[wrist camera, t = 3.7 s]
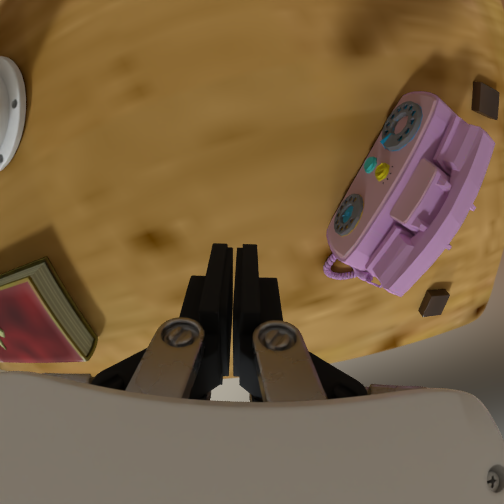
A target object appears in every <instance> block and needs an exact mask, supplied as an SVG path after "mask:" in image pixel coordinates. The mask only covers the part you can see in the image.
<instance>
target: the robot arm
mask: <svg viewBox="0 0 504 504" xmlns="http://www.w3.org/2000/svg"><path fill="white" fill-rule="evenodd" d="M25 114H26V93H25V85H24V81H23V77H22V74H21V72H20V70H19V68H18V66H17V65H16V64H15V63H14V61H12V60H11V59H9V58H8V57H4V56H0V171H1V170H3V169H4V168H5V167H6V166H7V165H8V164H9V162H10V161H11V159H12V158H13V156H14V154H15V152H16V150H17V148H18V145H19V142H20V139H21V136H22V132H23V128H24V123H25ZM232 312H233V375H234V376H239V377H240V386H241V387H243V388H244V389H245V390H246V391H248V392H249V393H250V402H230V401H210V398H211V390H212V389H214V388H215V387H217V386H218V385H220V384H221V385H222V380H223V376H229V362H230V344H231V328H232ZM0 504H504V440H503V438H502V436H501V433H500V431H499V429H498V427H497V425H496V423H495V422H494V420H493V418H492V416H491V415H490V413H489V411H488V410H487V409H486V407H485V406H484V405H483V403H482V402H481V401H480V400H479V399H478V398H477V397H475V396H473V395H472V394H469V393H466V392H463V391H459V390H452V389H445V388H426V387H421V386H420V387H419V386H394V385H377V384H371V385H370V387H364V386H363V385H362V384H361V383H360V382H359V381H357V380H356V379H354V378H352V377H350V376H349V375H347V374H345V373H344V372H342V371H340V370H339V369H337V368H335V367H334V366H332V365H330V364H329V363H327V362H325V361H324V360H322V359H320V358H319V357H317V356H315V355H314V354H312V353H311V352H309V351H308V349H307V347H306V345H305V342H304V340H303V337H302V335H301V333H300V331H299V330H298V329H297V328H296V327H295V326H294V325H292V324H290V323H288V322H284V321H283V317H282V310H281V303H280V296H279V289H278V282H277V278H259V273H258V255H257V245H255V244H243V248H237V257H236V272H235V287H234V302H233V248H229V247H228V246H227V244H216V243H213V246H212V250H211V255H210V259H209V264H208V268H207V273H206V276H191V278H190V281H189V285H188V288H187V291H186V295H185V299H184V302H183V306H182V309H181V313H180V317H179V318H173V319H170V320H168V321H166V322H164V323H163V324H161V326H160V327H159V328H158V330H157V331H156V333H155V335H154V337H153V339H152V341H151V342H150V344H149V346H148V348H146V349H144V350H142V351H140V352H138V353H136V354H134V355H133V356H131V357H129V358H127V359H125V360H123V361H121V362H119V363H117V364H115V365H113V366H111V367H109V368H107V369H105V370H103V371H102V372H100V373H99V374H97V375H96V376H95V377H92V376H91V374H58V373H42V374H41V373H34V372H26V371H9V372H1V373H0Z"/></svg>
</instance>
